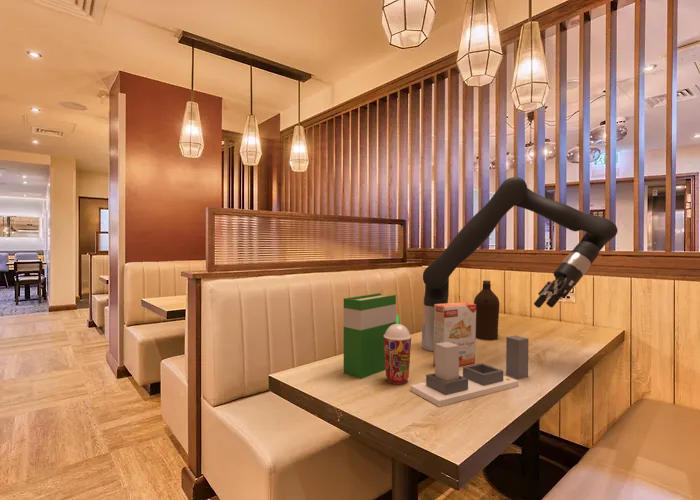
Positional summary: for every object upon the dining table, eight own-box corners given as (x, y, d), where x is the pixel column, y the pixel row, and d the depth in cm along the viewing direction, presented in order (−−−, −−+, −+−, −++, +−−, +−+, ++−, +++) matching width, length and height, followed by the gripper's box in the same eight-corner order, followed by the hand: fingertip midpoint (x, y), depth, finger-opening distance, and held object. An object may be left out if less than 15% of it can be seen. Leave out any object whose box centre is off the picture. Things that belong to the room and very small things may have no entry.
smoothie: (404, 388, 110) (404, 318, 110) (378, 382, 114) (378, 315, 114) (415, 379, 117) (415, 314, 117) (390, 374, 122) (391, 311, 121)
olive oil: (504, 340, 164) (504, 281, 164) (480, 341, 162) (481, 282, 162) (491, 334, 175) (491, 279, 174) (469, 335, 173) (469, 279, 172)
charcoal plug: (506, 374, 121) (506, 337, 121) (515, 372, 123) (516, 335, 123) (518, 379, 117) (518, 340, 117) (528, 376, 119) (528, 338, 119)
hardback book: (378, 361, 135) (378, 293, 135) (395, 365, 130) (395, 295, 130) (343, 373, 123) (343, 298, 122) (360, 379, 117) (360, 300, 117)
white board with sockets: (410, 390, 108) (410, 343, 108) (486, 373, 122) (486, 331, 122) (439, 406, 98) (439, 354, 97) (518, 385, 112) (518, 339, 112)
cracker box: (444, 369, 126) (444, 306, 126) (432, 364, 131) (432, 303, 131) (476, 364, 132) (477, 303, 132) (464, 359, 137) (464, 301, 137)
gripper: (552, 264, 135) (523, 299, 133) (575, 258, 121) (543, 297, 119) (569, 278, 134) (541, 313, 132) (594, 274, 120) (563, 313, 118)
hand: (542, 305), depth 125 cm, fingers open, 8 cm apart
